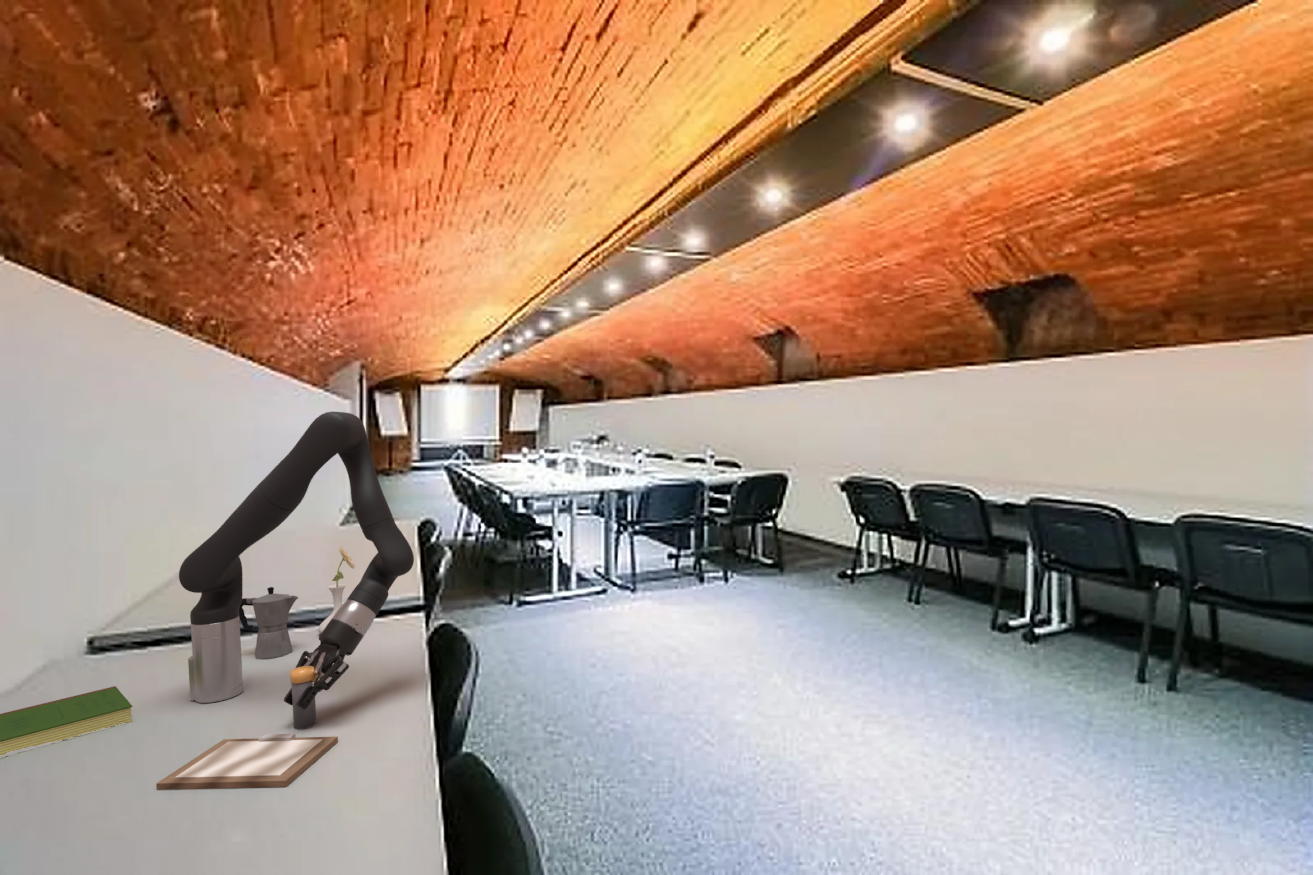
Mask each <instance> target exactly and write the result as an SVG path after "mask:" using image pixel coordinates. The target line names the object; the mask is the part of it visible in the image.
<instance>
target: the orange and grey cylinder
mask: <svg viewBox="0 0 1313 875" xmlns="http://www.w3.org/2000/svg"><path fill="white" fill-rule="evenodd" d="M313 672H314V667H313V666H302V667H298V668H296V667H295V668H293V669H291V670H290V672H289V675H290V677H289V678H290V683H291V684H290V685H291V688H292V704H293V705H292V715H293V716H292V719H293V720H292V721H293V728H294V729H295V730H305V729H309V728H311V727H313V726H315V725H316V724H317V708H316V706H317V705H316V696H315V697H314V699H313V700H312V701H311V703H310V705H309V706H308V707H307V708H306V709H301V708H300V707H298V706H297V705H296V703H297V701H298V700H299V698H300V697H301V695H302V694H303V692H304V691H305V690H306V688H307V687H310V686H309V685H310V682H311V681H312V679H313V677H314V675H313Z"/></svg>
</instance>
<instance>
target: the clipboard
mask: <svg viewBox="0 0 1313 875" xmlns="http://www.w3.org/2000/svg"><path fill="white" fill-rule="evenodd" d="M338 742H339V736H312V737H311V736H309V737H307V736H306V737H304V736H303V737H301V736H300V737H298V736H297V737H296V734H295V733H273V734H272V733H271V734H265V733H264V734H263V735H261V736H260V737H259V738H225V739H222V740H221V741H219V742H218V743H216V744H215V745H213V746H211V747H210V748H208V749H207V750H205V751H204V752H202V753H201V754H199V755H197V756H196V757H194V758H193V759H191V760H190V761H189V762H187V763H184V765H182V766H181V767H179V768H177V769H175V771H173V772H172V773H170V774H168V775H167V776H166V777H164V778H163V779H161V780H159V781H158V782H156V785H155V787H156V790H159V791H161V790H198V789H200V790H202V789H207V790H208V789H210V790H211V789H251V788H252V789H253V788H287V787H288V786H289V785H290V784H291V783H293V782H294V781H295V780H296V779H297V778H298V777H300V776H301V775H302V774H303V773H305V771H306V770H308V769H309V768H310V767H311V766H312V765H314V763H316V762H317V761H318V760H319V759H320V758H322V757H323V756H324V755H325V754H326V753H327V752H328V751H329V750H330V749H332V748H333V747H334V746H335V745H336V744H337V743H338ZM332 746H333V747H332ZM331 747H332V748H331Z"/></svg>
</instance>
